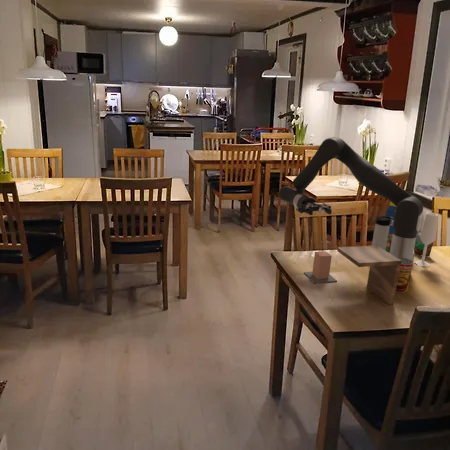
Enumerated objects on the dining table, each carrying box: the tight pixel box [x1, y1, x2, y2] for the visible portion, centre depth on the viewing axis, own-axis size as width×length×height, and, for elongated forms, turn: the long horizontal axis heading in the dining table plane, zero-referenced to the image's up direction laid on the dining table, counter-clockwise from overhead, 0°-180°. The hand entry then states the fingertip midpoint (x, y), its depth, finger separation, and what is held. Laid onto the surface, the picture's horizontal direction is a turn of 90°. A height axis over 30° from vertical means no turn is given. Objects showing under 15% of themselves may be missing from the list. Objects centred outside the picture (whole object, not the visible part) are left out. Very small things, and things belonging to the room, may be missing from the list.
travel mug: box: [371, 215, 392, 250], centre depth 209 cm, size 6×7×20 cm
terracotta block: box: [311, 250, 333, 279], centre depth 185 cm, size 5×5×10 cm
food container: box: [413, 229, 434, 257], centre depth 220 cm, size 12×6×10 cm, turn 5°
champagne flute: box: [414, 212, 439, 267], centre depth 204 cm, size 7×7×24 cm
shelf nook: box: [336, 245, 401, 306], centre depth 169 cm, size 17×16×18 cm
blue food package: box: [384, 200, 397, 253], centre depth 218 cm, size 6×12×25 cm, turn 48°
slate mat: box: [303, 271, 338, 284], centre depth 187 cm, size 10×10×1 cm
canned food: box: [396, 257, 414, 293], centre depth 179 cm, size 8×8×12 cm
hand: (321, 212), depth 190 cm, fingers open, 8 cm apart
